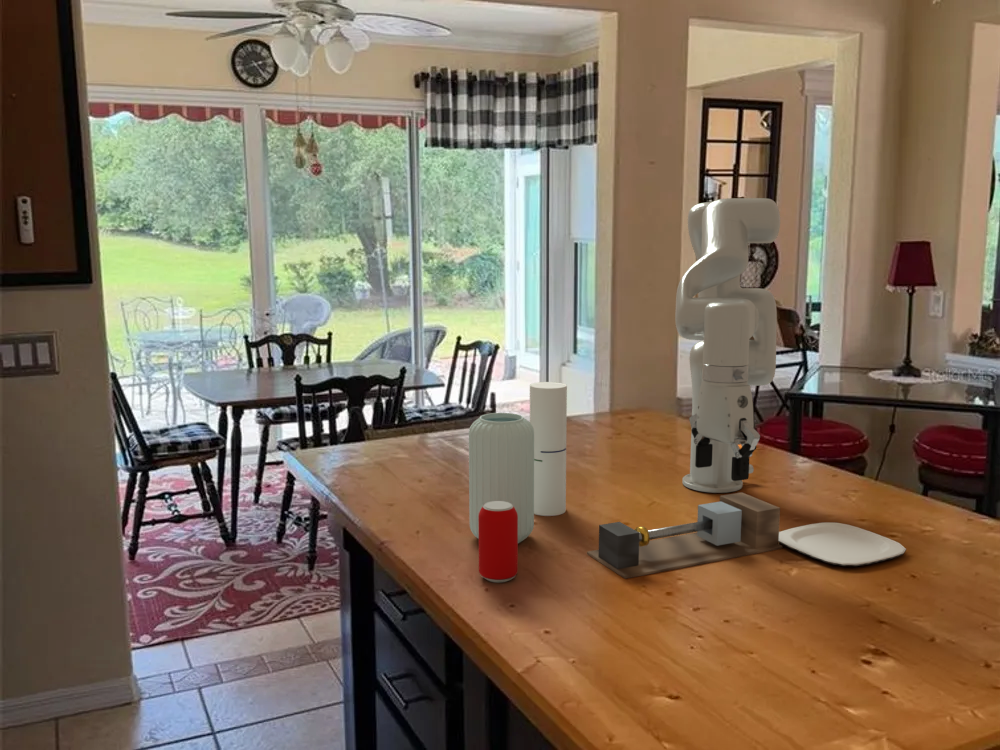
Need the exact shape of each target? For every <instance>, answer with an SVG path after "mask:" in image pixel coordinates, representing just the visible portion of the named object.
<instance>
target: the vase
mask: <svg viewBox="0 0 1000 750" xmlns="http://www.w3.org/2000/svg"><path fill="white" fill-rule="evenodd" d="M468 429H469V430H468V479H469V481H468V485H469V486H468V489H469V495H468V496H469V499H468V501H469V508H468V509H469V513H468V514H469V529H470V531H471V533H472V534H473V536H474V537H475V538H477V540H479V523H478V516H479V512H480V510H481V508H482V506H483V505H484V504H486V503H488V502H492V501H504V502H508V503H510V504H512V505H513V506H514V508H515V510H516V512H517V515H518V544H520V543H522V542H523V541H524V540H525V539H527V538H528V537H529V536H530V535H531V534H532V532H533V530H534V526H535V514H534V429H533V426H532V425H531V423H530V420H528V419H527V418H525V417H524V416H523V415H522V414H518V413H512V412H511V413H510V412H492V413H486V414H482V415H480V416H479V417H478V418H476V420H474V421H473V422H472V423H471V425H470V426H469V428H468Z"/></svg>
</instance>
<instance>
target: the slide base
mask: <svg viewBox="0 0 1000 750" xmlns="http://www.w3.org/2000/svg"><path fill="white" fill-rule="evenodd" d="M720 501H721V502H724V503H726V504H728V505H731V506H733V507H735V508H737V509H740V510H742V516H741V539H740V542H734V543H729V544H724V545H718V546H717V545H715V544H713V543H711V542H709V541H707V540H705V539H703V538H701V537H699V536H697V532H693V533H687V534H681V535H675V536H670V537H664V538H658V539H653V540H650V541H649V544H648V545H647V546H641V547H640V546H639V532H637V531H635V528H632V527H630V526H628V525H626V524H625V523H623V522H621V521H617V522H608V523H604V524H598V549H595V550H594V549H593V550H588V551H586V554H587V556H589V557H591V558H593V559H594V560H595V561H597V562H598V563H600V564H602V565H603V566H605V567H606V568H608V569H609V570H611V571H612V572H613V573H615V574H617V575H619V576H620V577H622V578H623V579H631V578H636V577H641V576H646V575H651V574H652V575H653V574H657V573H660V572H667V571H673V570H676V569H682V568H687V567H693V566H698V565H702V564H703V565H704V564H709V563H713V562H719V561H723V560H728V559H729V560H730V559H736V558H739V557H744V556H749V555H754V554H759V553H765V552H771V551H775V550H781V549H783V545H782V544H779V542H778V540H779V532H780V517H781V516H780V515H781V507H779V506H776V505H774V504H772V503H769V502H768V501H767V502H766V501H764V500H762V499H760V498H757V497H754V496H752V495H750V494H746V493H745V492H737V493H731V494H730V493H729V494H724V495H719V502H720Z"/></svg>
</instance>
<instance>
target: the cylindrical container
mask: <svg viewBox="0 0 1000 750" xmlns="http://www.w3.org/2000/svg"><path fill="white" fill-rule="evenodd" d="M567 389H568V385H567V384H566V383H563V382H555V381H541V382H540V381H539V382H538V381H537V382H532V383H530V384H529V422H530V423H531V425H532V426H533V429H534V515H537V516H544V517H551V516H553V517H554V516H559V515H563V514H564V513H566V511H567V510H566V508H567V504H566V503H567V501H566V499H567V498H566V497H567V496H566V495H567V491H566V490H567V420H568V419H567V418H568V417H567V410H568V409H567V408H568V402H567V401H568V390H567Z"/></svg>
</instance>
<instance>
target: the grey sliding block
mask: <svg viewBox="0 0 1000 750" xmlns="http://www.w3.org/2000/svg"><path fill="white" fill-rule="evenodd" d="M741 516H742V510H740V509H737V508H735V507H733V506H731V505H728V504H726V503H724V502H721V501H720V500H719V501H716V502H709V503H702V504H698V505H697V521H696V522H701V521H707V520H713V528H712V529H710V530H704V531H698V532H697V536H699V537H701V538H703V539H705V540H707V541H709V542H711V543H713V544H715V545H717V546H718V545H724V544H729V543H734V542H740V539H741Z"/></svg>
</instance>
